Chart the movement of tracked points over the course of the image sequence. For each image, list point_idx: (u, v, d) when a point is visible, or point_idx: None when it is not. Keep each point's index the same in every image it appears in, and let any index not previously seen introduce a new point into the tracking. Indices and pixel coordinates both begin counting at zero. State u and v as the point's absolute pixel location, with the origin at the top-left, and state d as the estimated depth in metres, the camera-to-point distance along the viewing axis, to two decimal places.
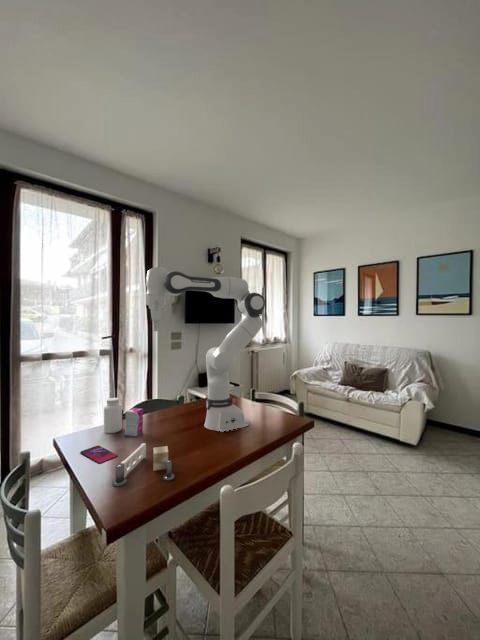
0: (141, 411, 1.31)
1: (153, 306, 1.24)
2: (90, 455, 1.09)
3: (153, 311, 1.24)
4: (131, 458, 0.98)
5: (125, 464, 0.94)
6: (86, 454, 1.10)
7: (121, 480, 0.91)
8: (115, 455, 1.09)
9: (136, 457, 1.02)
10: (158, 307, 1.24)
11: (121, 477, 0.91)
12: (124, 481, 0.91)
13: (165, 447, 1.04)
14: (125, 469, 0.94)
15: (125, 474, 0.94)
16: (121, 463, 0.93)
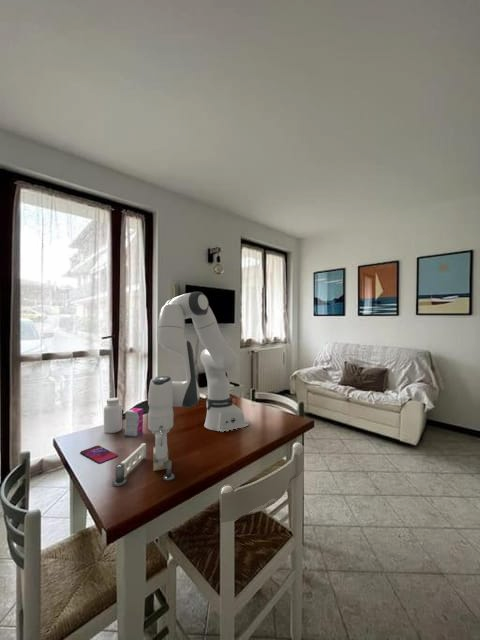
0: (141, 411, 1.31)
1: (157, 440, 0.93)
2: (90, 455, 1.09)
3: (157, 447, 0.92)
4: (131, 458, 0.98)
5: (125, 464, 0.94)
6: (86, 454, 1.10)
7: (121, 480, 0.91)
8: (115, 455, 1.09)
9: (136, 457, 1.02)
10: (164, 441, 0.93)
11: (121, 477, 0.91)
12: (124, 481, 0.91)
13: None
14: (125, 469, 0.94)
15: (125, 474, 0.94)
16: (121, 463, 0.93)
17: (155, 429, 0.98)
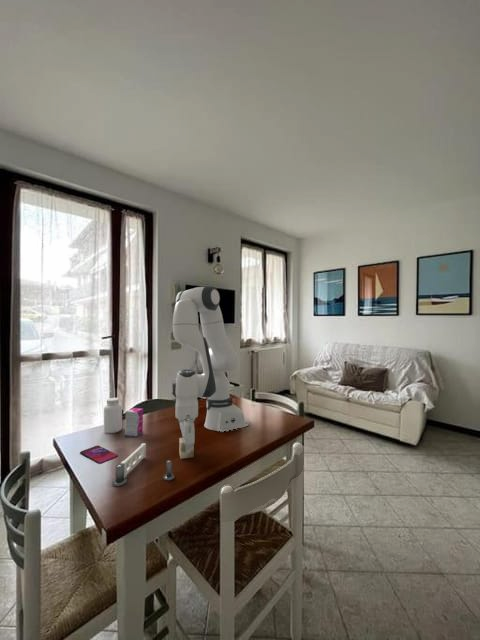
0: (141, 411, 1.31)
1: (186, 427, 1.02)
2: (90, 455, 1.09)
3: (186, 434, 1.01)
4: (131, 458, 0.98)
5: (125, 464, 0.94)
6: (86, 454, 1.10)
7: (121, 480, 0.91)
8: (115, 455, 1.09)
9: (136, 457, 1.02)
10: (192, 428, 1.02)
11: (121, 477, 0.91)
12: (124, 481, 0.91)
13: None
14: (125, 469, 0.94)
15: (125, 474, 0.94)
16: (121, 463, 0.93)
17: (183, 418, 1.06)
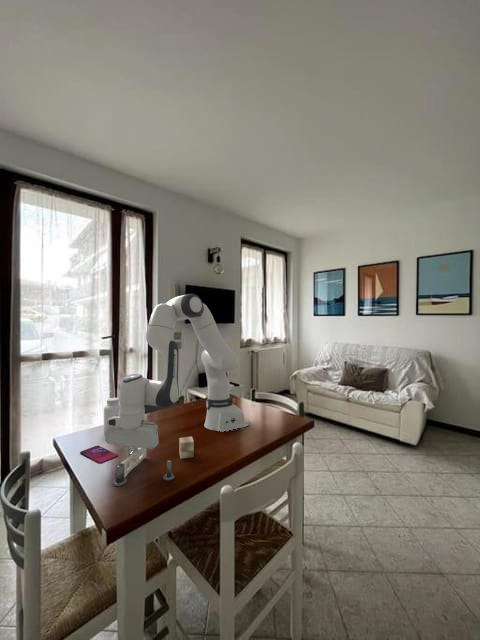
0: None
1: (152, 430, 1.00)
2: (90, 455, 1.09)
3: (154, 437, 1.00)
4: (131, 458, 0.98)
5: (125, 464, 0.94)
6: (86, 454, 1.10)
7: (121, 480, 0.91)
8: (115, 455, 1.09)
9: (136, 457, 1.02)
10: None
11: (121, 477, 0.91)
12: (124, 481, 0.91)
13: (190, 437, 1.13)
14: (125, 469, 0.94)
15: (125, 474, 0.94)
16: (121, 463, 0.93)
17: (138, 425, 1.00)
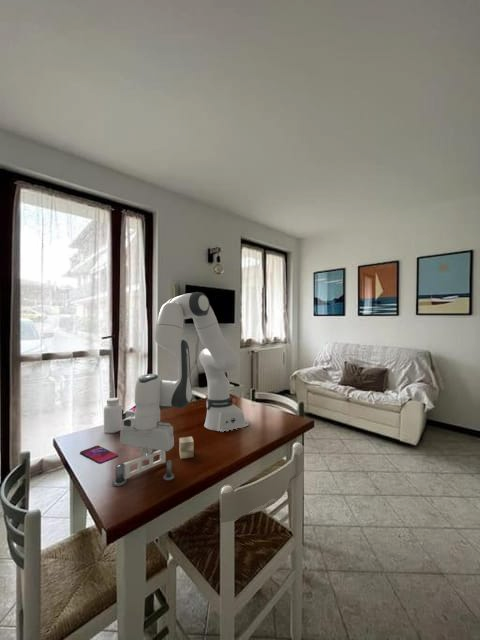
0: None
1: (168, 432, 0.98)
2: (90, 455, 1.09)
3: (169, 438, 0.97)
4: (139, 461, 0.96)
5: (127, 465, 0.93)
6: (86, 454, 1.10)
7: (121, 480, 0.91)
8: (115, 455, 1.09)
9: (149, 461, 1.00)
10: None
11: (121, 477, 0.91)
12: (124, 481, 0.91)
13: (190, 437, 1.13)
14: (127, 471, 0.93)
15: (127, 476, 0.93)
16: (124, 463, 0.93)
17: (154, 426, 0.98)
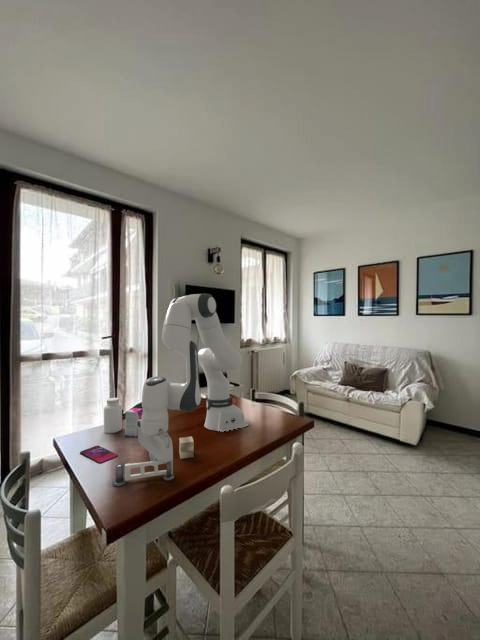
0: (141, 411, 1.31)
1: (164, 442, 0.89)
2: (90, 455, 1.09)
3: (164, 450, 0.89)
4: (140, 465, 0.93)
5: (126, 467, 0.91)
6: (86, 454, 1.09)
7: (121, 480, 0.91)
8: (115, 455, 1.09)
9: (154, 468, 0.95)
10: (169, 442, 0.90)
11: (121, 477, 0.91)
12: (124, 481, 0.91)
13: (190, 437, 1.13)
14: (126, 473, 0.91)
15: (127, 478, 0.91)
16: (125, 464, 0.92)
17: (154, 433, 0.93)
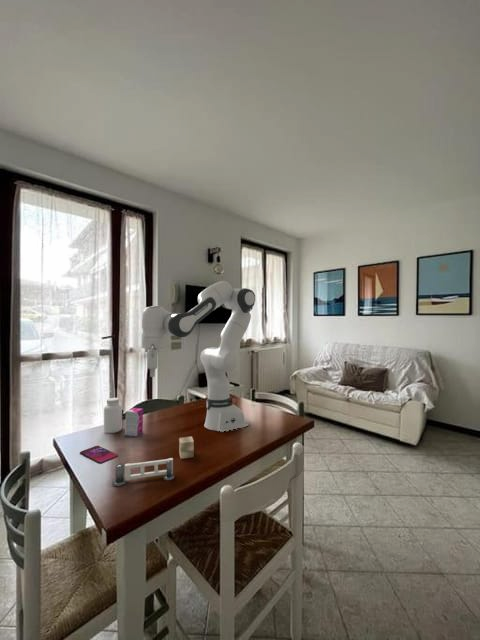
0: (141, 411, 1.31)
1: (149, 352, 1.10)
2: (90, 455, 1.09)
3: (149, 358, 1.10)
4: (140, 465, 0.93)
5: (126, 467, 0.91)
6: (86, 454, 1.09)
7: (121, 480, 0.91)
8: (115, 455, 1.09)
9: (154, 468, 0.94)
10: (154, 353, 1.11)
11: (121, 477, 0.91)
12: (124, 481, 0.91)
13: (190, 437, 1.13)
14: (126, 473, 0.91)
15: (127, 478, 0.91)
16: (125, 464, 0.92)
17: (147, 347, 1.15)
